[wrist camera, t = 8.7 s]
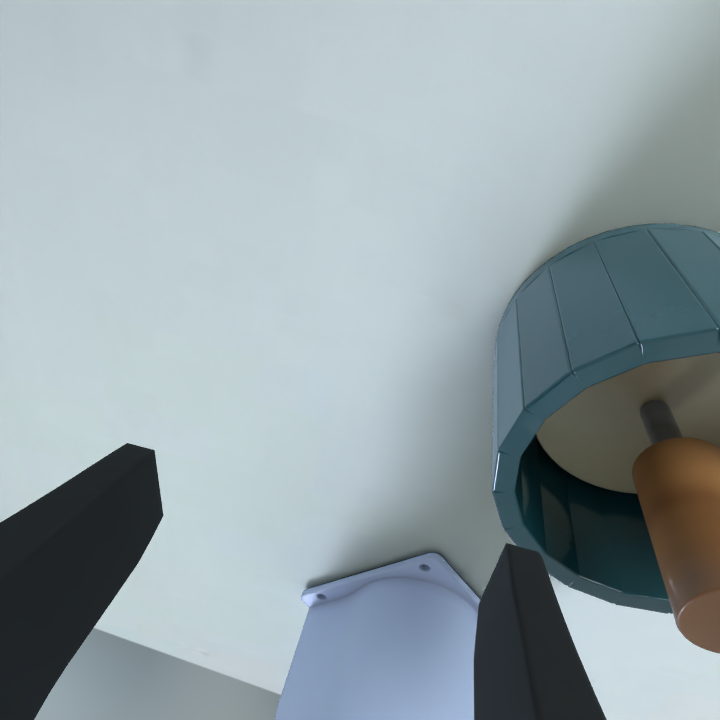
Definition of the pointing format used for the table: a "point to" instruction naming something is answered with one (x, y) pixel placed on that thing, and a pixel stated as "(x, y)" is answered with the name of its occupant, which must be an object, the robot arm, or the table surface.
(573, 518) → the teal drum lampshade
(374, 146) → the table surface
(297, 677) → the robot arm
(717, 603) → the disc with orange handle
